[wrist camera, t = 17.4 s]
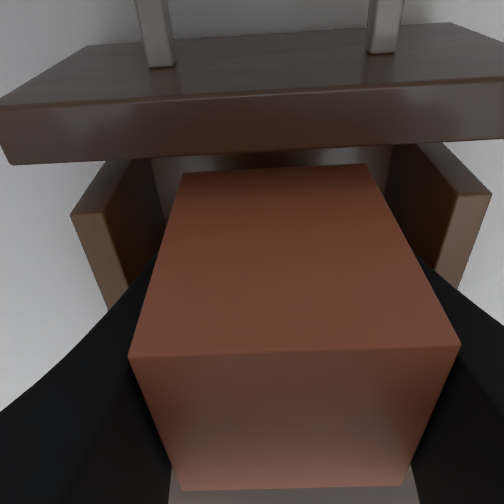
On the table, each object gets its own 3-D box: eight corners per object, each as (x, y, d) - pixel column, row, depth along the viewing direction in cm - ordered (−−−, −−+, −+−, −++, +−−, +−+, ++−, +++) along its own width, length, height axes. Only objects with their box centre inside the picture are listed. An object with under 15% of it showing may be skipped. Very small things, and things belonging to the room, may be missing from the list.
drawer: (15, -199, 9) (-243, -359, 4) (511, -241, 8) (823, -464, 4) (166, 330, 20) (141, 446, 15) (384, 321, 19) (425, 437, 15)
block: (205, 301, 12) (181, 492, 8) (182, 171, 10) (125, 357, 5) (348, 295, 12) (401, 486, 8) (365, 162, 9) (464, 343, 5)
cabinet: (135, 242, 17) (76, 397, 11) (409, 229, 17) (495, 382, 11) (186, 411, 26) (167, 549, 20) (368, 405, 26) (404, 543, 20)
